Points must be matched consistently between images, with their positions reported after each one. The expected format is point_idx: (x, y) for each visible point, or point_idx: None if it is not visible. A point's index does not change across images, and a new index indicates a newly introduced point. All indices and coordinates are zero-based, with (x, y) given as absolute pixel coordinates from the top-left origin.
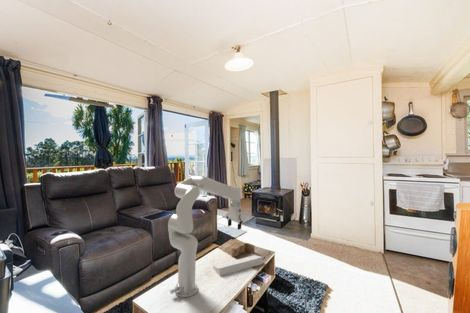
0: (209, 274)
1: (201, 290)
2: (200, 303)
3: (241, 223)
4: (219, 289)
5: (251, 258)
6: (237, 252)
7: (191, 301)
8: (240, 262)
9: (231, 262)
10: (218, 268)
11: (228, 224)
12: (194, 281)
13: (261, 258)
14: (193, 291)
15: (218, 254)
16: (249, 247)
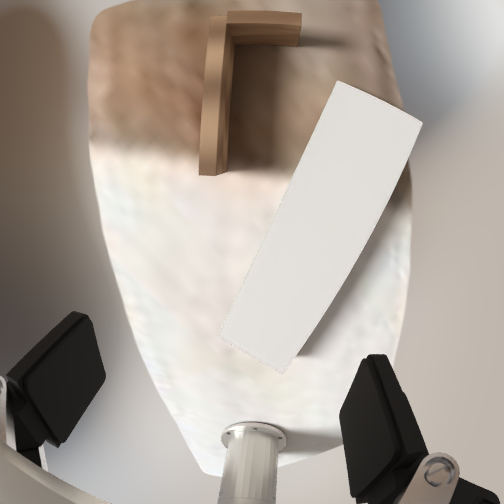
0: (245, 368)
1: (290, 424)
2: (322, 443)
3: (435, 466)
4: (337, 399)
5: (368, 160)
6: (225, 130)
7: (298, 449)
8: (344, 264)
9: (281, 270)
10: (275, 369)
11: (88, 398)
12: (275, 458)
13: (419, 129)
14: (280, 442)
15: (132, 205)
16: (262, 32)
